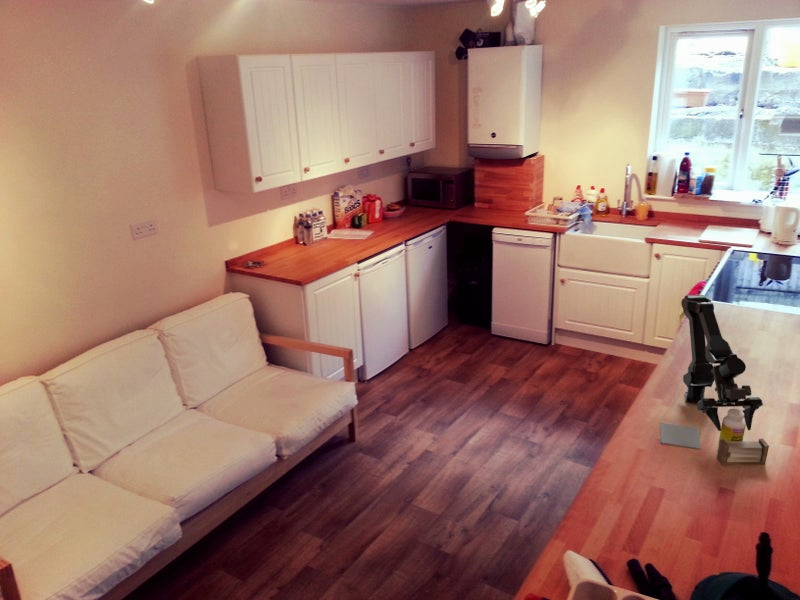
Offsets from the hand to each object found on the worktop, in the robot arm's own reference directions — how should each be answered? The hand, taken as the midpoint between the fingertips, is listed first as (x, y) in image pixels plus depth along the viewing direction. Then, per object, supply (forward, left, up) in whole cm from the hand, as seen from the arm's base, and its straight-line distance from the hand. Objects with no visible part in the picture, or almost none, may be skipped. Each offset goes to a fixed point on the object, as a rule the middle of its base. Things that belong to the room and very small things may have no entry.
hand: (734, 430), depth 208 cm
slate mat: (-3, -15, -7) cm, 17 cm away
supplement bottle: (-1, 0, -7) cm, 7 cm away
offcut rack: (+6, +2, -7) cm, 10 cm away
